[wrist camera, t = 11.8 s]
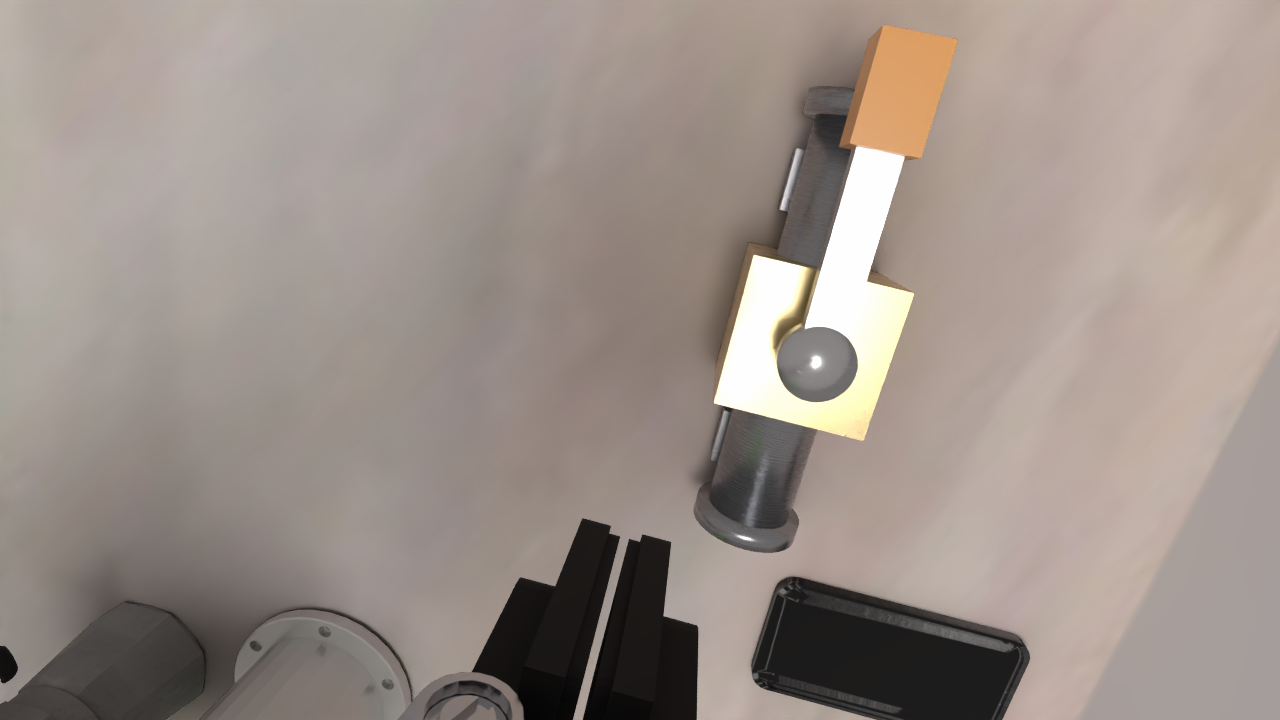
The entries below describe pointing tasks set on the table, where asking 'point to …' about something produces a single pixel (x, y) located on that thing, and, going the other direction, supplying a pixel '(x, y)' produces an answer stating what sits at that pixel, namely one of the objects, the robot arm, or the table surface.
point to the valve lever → (864, 202)
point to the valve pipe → (746, 366)
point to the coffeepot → (114, 671)
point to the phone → (884, 657)
